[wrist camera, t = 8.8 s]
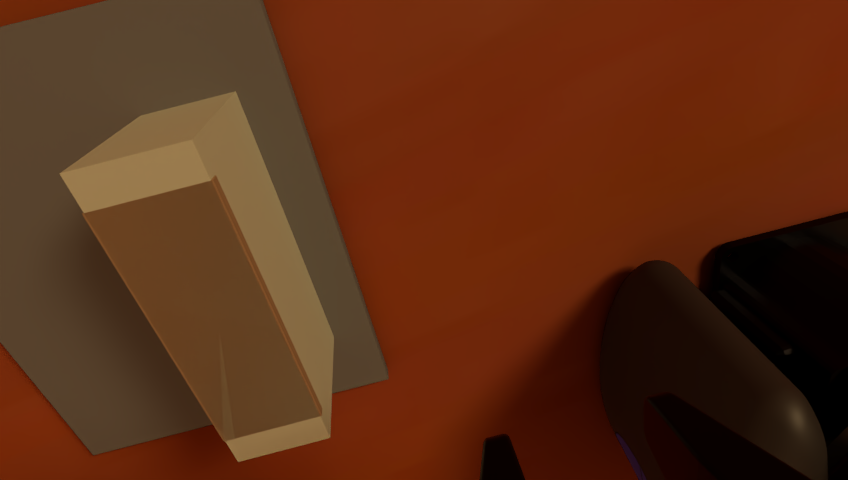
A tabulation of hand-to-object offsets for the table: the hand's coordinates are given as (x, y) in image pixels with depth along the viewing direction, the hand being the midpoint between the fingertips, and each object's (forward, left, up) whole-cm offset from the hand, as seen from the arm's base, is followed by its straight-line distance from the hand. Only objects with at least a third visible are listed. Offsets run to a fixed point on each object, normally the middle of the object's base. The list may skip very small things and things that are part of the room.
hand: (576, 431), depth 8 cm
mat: (+11, 0, -12) cm, 16 cm away
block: (+7, 0, -11) cm, 13 cm away
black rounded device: (-9, +13, -12) cm, 19 cm away
